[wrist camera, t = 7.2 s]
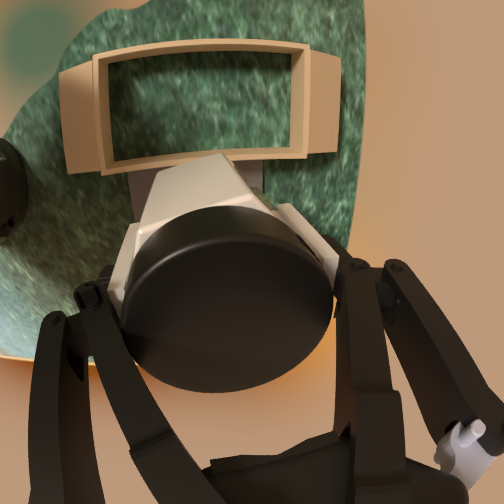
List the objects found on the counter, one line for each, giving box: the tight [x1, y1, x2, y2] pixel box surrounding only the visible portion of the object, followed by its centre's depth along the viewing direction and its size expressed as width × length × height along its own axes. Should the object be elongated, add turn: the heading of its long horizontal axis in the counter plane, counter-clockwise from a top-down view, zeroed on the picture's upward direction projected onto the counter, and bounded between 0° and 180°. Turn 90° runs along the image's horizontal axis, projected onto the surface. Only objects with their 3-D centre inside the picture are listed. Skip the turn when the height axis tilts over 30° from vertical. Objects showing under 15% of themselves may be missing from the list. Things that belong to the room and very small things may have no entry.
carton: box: [59, 39, 341, 176], centre depth 26 cm, size 32×13×4 cm, turn 90°
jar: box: [120, 153, 333, 393], centre depth 15 cm, size 9×8×12 cm
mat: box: [127, 159, 263, 223], centre depth 35 cm, size 16×16×1 cm
